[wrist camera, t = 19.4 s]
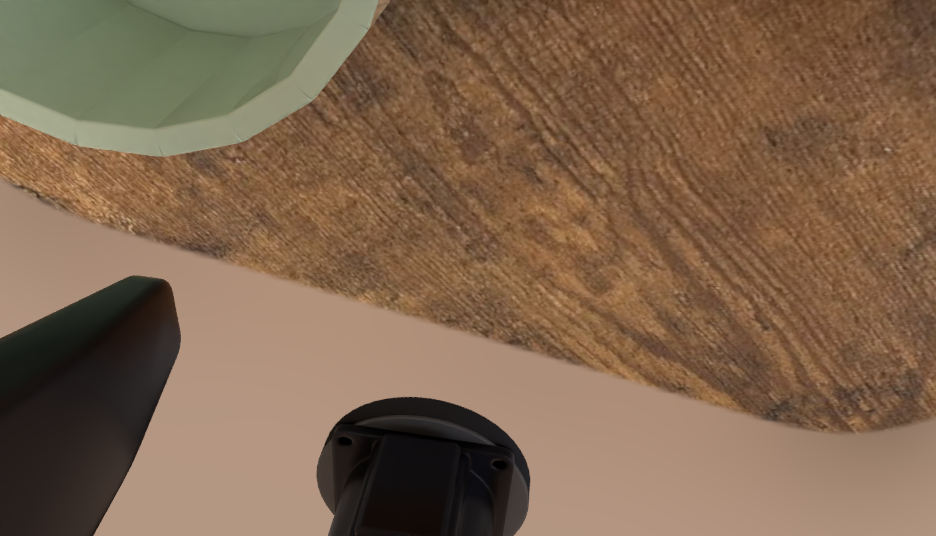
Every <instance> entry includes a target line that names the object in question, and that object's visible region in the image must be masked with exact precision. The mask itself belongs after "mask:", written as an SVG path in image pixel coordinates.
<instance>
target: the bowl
mask: <svg viewBox="0 0 936 536" xmlns="http://www.w3.org/2000/svg"><path fill="white" fill-rule="evenodd" d="M390 1H391V0H0V115H1V116H4V117H6V118H9V119H11V120H14V121H16V122H19V123H21V124H23V125H26V126H28V127H31V128H33V129H36V130H38V131H41V132H43V133H46V134H48V135H51V136H53V137H56V138H58V139H60V140H63V141H65V142H68V143H70V144H73V145H78V146H80V147H87V148H95V149H103V150H110V151H118V152H126V153H134V154H141V155H149V156H157V157H160V156H165V157H166V156H172V155H178V154H183V153H188V152H194V151H199V150H205V149H210V148H216V147H221V146H227V145H232V144H238V143H241V142H242V141H247V140H249V139H250V138H252V137H254V136H255V135H257V134H259V133H260V132H262V131H264V130H265V129H267V128H269V127H271V126H272V125H274V124H276V123H277V122H279V121H281V120H282V119H284V118H286V117H287V116H289V115H291V114H292V113H294V112H296V111H297V110H299V109H301V108H302V107H304V106H306V105H308V104H309V103H311V102H312V100H313V99H316V97H317V96H318V95H319V94H320V92H321V91H322V90H323V88H324V87H325V86H326V85H327V83H328V82H329V81H330V80H331V78H332V77H333V76H334V74H335V73H336V72H337V71H338V69H339V68H340V67H341V65H342V64H343V63H344V62H345V60H346V59H347V58H348V57H349V55H350V54H351V53H352V51H353V50H354V49H355V48H356V46H357V45H358V44H359V42H360V41H361V40H362V39H363V37H364V36H365V35H366V33H367V32H368V31H369V29H370V28H371V27H372V25H373V24H374V23H375V21H376V20H377V19H378V17H379V16H380V15H381V13H382V12H383V10H384V9H385V8H386V6H387V5H388V4H389V2H390Z"/></svg>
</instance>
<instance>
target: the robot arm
mask: <svg viewBox="0 0 936 536" xmlns="http://www.w3.org/2000/svg"><path fill="white" fill-rule="evenodd" d="M180 342H181V335H180V328H179V323H178V317H177V313H176V307H175V302H174V296H173V292H172V288H171V286H170V284H169V283H168V282H167V281H165V280H163V279H158V278H152V277H145V276H130V277H127V278H125V279H123V280H121V281H118V282H116V283H114V284H112V285H110V286H108V287H106V288H104V289H102V290H100V291H98V292H96V293H94V294H91V295H89V296H87V297H85V298H83V299H81V300H79V301H77V302H75V303H73V304H71V305H69V306H67V307H64V308H63V309H60V310H58V311H56V312H54V313H52V314H50V315H48V316H46V317H44V318H42V319H40V320H38V321H36V322H34V323H31V324H29V325H27V326H25V327H23V328H21V329H19V330H17V331H15V332H13V333H11V334H9V335H6V336H5V337H2V338H0V536H93V535H94V533H95V531H96V529H97V528H98V526H99V524H100V522H101V521H102V519H103V517H104V515H105V513H106V512H107V510H108V508H109V506H110V504H111V503H112V501H113V499H114V497H115V495H116V493H117V492H118V490H119V488H120V486H121V484H122V483H123V481H124V479H125V477H126V475H127V473H128V471H129V469H130V467H131V465H132V463H133V461H134V458H135V456H136V454H137V452H138V449H139V447H140V445H141V443H142V440H143V438H144V435H145V432H146V430H147V428H148V425H149V423H150V421H151V418H152V416H153V413H154V411H155V408H156V406H157V404H158V401H159V399H160V396H161V394H162V392H163V389H164V387H165V384H166V382H167V379H168V377H169V374H170V372H171V370H172V367H173V365H174V362H175V360H176V358H177V355H178V352H179V348H180ZM346 437H348V438H346ZM514 459H515V458H514V454H513V452H512V451H511V450H509V449H508V448H505V447H501V446H494V445H487V444H481V443H474V442H467V441H461V440H454V439H447V438H441V437H434V436H427V435H421V434H414V433H407V432H401V431H394V430H387V429H381V428H374V427H367V426H361V425H354V424H340V425H338V426H337V427H336V428H335V430H334V433H333V436H332V461H333V483H334V504H335V516H334V518H333V522H332V525H331V528H330V531H329V534H328V536H503V530H504V524H505V518H506V512H507V506H508V499H509V493H510V487H511V481H512V474H513V468H514ZM498 460H501V461H498Z"/></svg>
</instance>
